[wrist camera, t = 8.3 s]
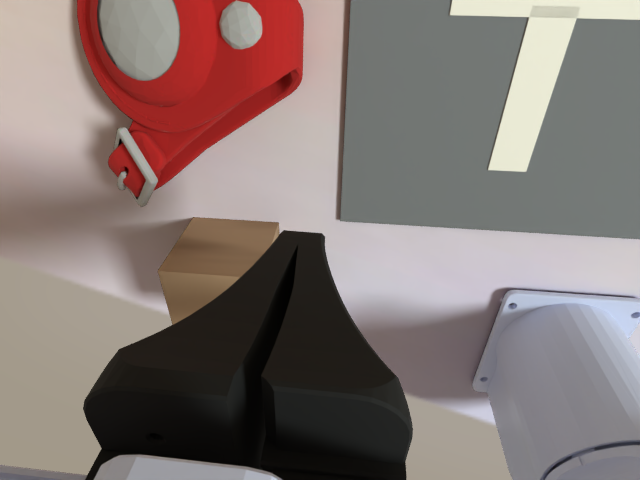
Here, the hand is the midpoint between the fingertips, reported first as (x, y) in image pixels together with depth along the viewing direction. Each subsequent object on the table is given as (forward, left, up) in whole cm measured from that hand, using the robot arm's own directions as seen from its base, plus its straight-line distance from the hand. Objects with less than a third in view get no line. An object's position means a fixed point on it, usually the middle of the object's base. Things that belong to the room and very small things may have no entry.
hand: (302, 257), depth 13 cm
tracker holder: (+4, +7, -9) cm, 12 cm away
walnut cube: (-7, +5, -9) cm, 12 cm away
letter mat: (+4, -9, -9) cm, 13 cm away
